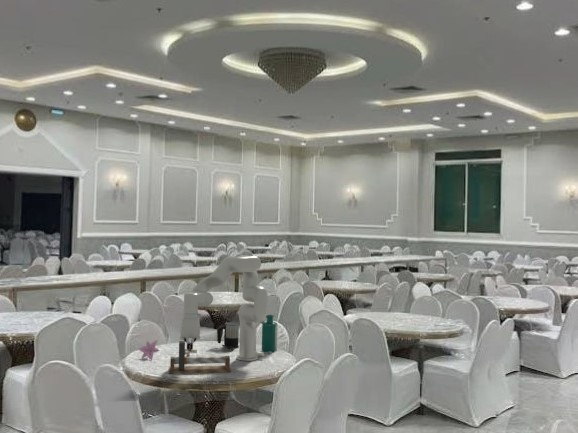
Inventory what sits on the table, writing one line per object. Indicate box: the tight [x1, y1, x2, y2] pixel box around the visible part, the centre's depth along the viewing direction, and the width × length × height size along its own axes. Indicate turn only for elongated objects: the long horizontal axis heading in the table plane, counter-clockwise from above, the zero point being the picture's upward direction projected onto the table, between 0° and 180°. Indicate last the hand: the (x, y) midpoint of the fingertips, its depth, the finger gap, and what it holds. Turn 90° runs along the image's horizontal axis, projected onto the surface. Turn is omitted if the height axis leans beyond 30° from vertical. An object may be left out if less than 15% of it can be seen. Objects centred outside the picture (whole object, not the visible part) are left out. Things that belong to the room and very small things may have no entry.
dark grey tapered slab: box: [178, 340, 186, 370], centre depth 324 cm, size 3×8×14 cm, turn 10°
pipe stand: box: [168, 355, 232, 375], centre depth 326 cm, size 32×11×7 cm, turn 100°
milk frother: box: [216, 321, 240, 351], centre depth 380 cm, size 14×16×15 cm
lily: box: [138, 339, 160, 361], centre depth 352 cm, size 12×12×10 cm
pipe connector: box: [185, 348, 198, 357], centre depth 349 cm, size 10×10×10 cm
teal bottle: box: [260, 314, 278, 353], centre depth 377 cm, size 10×8×22 cm
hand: (189, 350), depth 325 cm, fingers closed
